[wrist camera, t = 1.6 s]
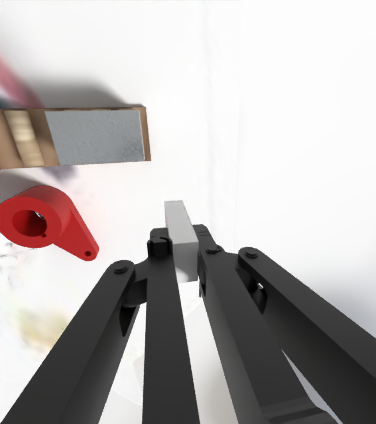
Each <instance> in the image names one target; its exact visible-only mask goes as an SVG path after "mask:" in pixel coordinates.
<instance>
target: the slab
mask: <svg viewBox="0 0 376 424" xmlns="http://www.w3.org/2000/svg"><path fill="white" fill-rule="evenodd" d="M45 115H46V118H47V122H48V125H49V129H50V132H51V135H52V139H53V142H54V146H55V149H56V153H57V156H58V160H59V163H60V166H63V165H81V164H99V163H117V162H135V161H145V154H144V145H143V137H142V128H141V119H140V112H139V110H106V111H45Z"/></svg>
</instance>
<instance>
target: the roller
mask: <svg viewBox="0 0 376 424" xmlns="http://www.w3.org/2000/svg"><path fill="white" fill-rule="evenodd" d="M4 113H5V116H6V118H7V121H8V124H9V127H10V129H11V132H12V135H13V138H14V140H15V143H16V146H17V149H18V151H19V154H20V157H21V159H22V162H23V165H24V167H34V166H41V165H45V164H44V160H43V157H42V154H41V151H40V148H39V145H38V142H37V139H36V136H35V132H34V129H33V126H32V123H31V120H30V117H29V114H28V112H27V111H4Z"/></svg>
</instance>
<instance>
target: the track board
mask: <svg viewBox="0 0 376 424" xmlns="http://www.w3.org/2000/svg"><path fill="white" fill-rule="evenodd" d="M95 109H107V110H119V109H136V110H139V112H140V119H141V128H142V137H143V145H144V154H145V161H151V155H150V145H149V135H148V125H147V116H146V107H119V108H32V109H0V169H12V168H30V167H24V165H23V162H22V159H21V157H20V154H19V151H18V149H17V146H16V143H15V140H14V138H13V135H12V132H11V129H10V127H9V124H8V121H7V118H6V116H5V113H4V111H27V112H28V114H29V117H30V120H31V123H32V126H33V129H34V132H35V136H36V139H37V142H38V145H39V148H40V151H41V154H42V157H43V160H44V164H45V165H41V166H34V167H48V166H60V163H59V160H58V156H57V153H56V149H55V146H54V142H53V139H52V135H51V132H50V129H49V125H48V122H47V118H46V115H45V111H64V110H85V111H91V110H95ZM135 162H138V161H135ZM117 163H120V162H117ZM99 164H102V163H99ZM81 165H84V164H81ZM63 166H66V165H63Z"/></svg>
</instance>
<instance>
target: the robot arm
mask: <svg viewBox="0 0 376 424" xmlns="http://www.w3.org/2000/svg"><path fill="white" fill-rule="evenodd" d="M164 202H165V221H166V228H155V229H153V230H152V231H151V232H150V240H148V242H147V249H148V258H147V259H146V260H145V261H143V262H141V263H138V264H135V265H134V263H133V262H131V261H128V260H120V261H117V262H114V263H113V264H111V265H110V266H109V267H108V268H107V269H106V271H105V272H104V274H103V275H102V277H101V278H100V280H99V281H98V283H97V284H96V285H95V287H94V288H93V290H92V291H91V293H90V294H89V296H88V297H87V299H86V300H85V301H84V303H83V304H82V306H81V307H80V309H79V310H78V312H77V313H76V315H75V316H74V317H73V319H72V320H71V322H70V323H69V325H68V326H67V328H66V329H65V331H64V332H63V333H62V335H61V336H60V338H59V339H58V341H57V342H56V344H55V345H54V346H53V348H52V349H51V351H50V352H49V354H48V355H47V357H46V358H45V360H44V361H43V362H42V364H41V365H40V367H39V368H38V370H37V371H36V373H35V374H34V376H33V377H32V378H31V380H30V381H29V383H28V384H27V386H26V387H25V389H24V390H23V392H22V393H21V394H20V396H19V397H18V399H17V400H16V402H15V403H14V405H13V406H12V407H11V409H10V410H9V412H8V413H7V415H6V416H5V418H4V419H3V421H2V422H1V423H0V424H98V423H99V420H100V417H101V415H102V412H103V409H104V406H105V403H106V401H107V398H108V395H109V392H110V389H111V387H112V384H113V381H114V378H115V375H116V372H117V370H118V367H119V364H120V361H121V358H122V356H123V353H124V350H125V347H126V344H127V342H128V339H129V336H130V333H131V330H132V328H133V325H134V322H135V319H136V316H137V314H138V311H139V308H140V304H143V303H145V302H147V305H146V332H145V360H144V387H143V413H142V424H200V420H199V415H198V408H197V401H196V395H195V390H194V383H193V376H192V370H191V364H190V357H189V351H188V345H187V339H186V333H185V326H184V320H183V314H182V307H181V301H180V295H179V289H178V283H183V282H191V281H198V276H199V279H200V283H199V297H201V294H202V298H203V301H204V305H205V308H206V311H207V315H208V318H209V322H210V326H211V328H212V333H213V336H214V339H215V343H216V347H217V350H218V354H219V357H220V360H221V364H222V367H223V371H224V374H225V378H226V381H227V385H228V388H229V392H230V395H231V399H232V402H233V406H234V409H235V412H236V416H237V420H238V423H239V424H338V423H337V422H336V420H335V419H334V418H332V416H331V415H330V414H329V413H328V412H326V411H324V410H322V409H320V408H318V407H316V406H315V405H314V403H313V402H312V401H311V400H310V398H309V397H308V395H307V393H306V392H305V390H304V388H303V386H302V384H301V383H300V381H299V379H298V377H297V376H296V374H295V372H294V370H293V369H292V367H291V366H290V364H289V362H288V360H287V358H286V357H285V355H284V353H283V352H282V350H283V351H284V352H285V354H286V355H287V356H288V357H289V359H290V360H291V361H292V362H293V363H294V365H295V366H296V367H297V368H298V370H299V371H300V372H301V373H302V374H303V376H304V377H305V378H306V379H307V380H308V382H309V383H310V384H311V385H312V386H313V388H314V389H315V390H316V391H317V393H318V394H319V395H320V396H321V397H322V399H323V400H324V401H325V402H326V403H327V405H328V406H329V407H330V408H331V409H332V411H333V412H334V413H335V414H336V415H337V417H338V418H339V419H340V420H341V422H343V424H376V338H374V337H373V336H372V335H371V334H369V333H368V332H366V331H365V330H364V329H363V328H361V327H360V326H359V325H357V324H356V323H355V322H353V321H352V320H351V319H349V318H348V317H347V316H345V315H344V314H343V313H342V312H340V311H339V310H338V309H336V308H335V307H334V306H332V305H331V304H330V303H328V302H327V301H326V300H324V299H323V298H322V297H320V296H319V295H317V294H316V293H315V292H314V291H312V290H311V289H310V288H309V287H307V286H306V285H304V284H303V283H302V282H301V281H299V280H298V279H297V278H295V277H294V276H293V275H291V274H290V273H289V272H287V271H286V270H285V269H284V268H282V267H281V266H279V265H278V264H277V263H276V262H274V261H273V260H272V259H270V258H269V257H268V256H266V255H265V254H264V253H262V252H261V251H259V250H258V249H255V248H252V247H244V248H241V249H240V250H239V252H238V254H234V253H227V252H225V251H224V249H223V248H222V247H221V246H219V245H217V244H216V243H215V242H214V240H213V238H212V236H211V234H210V232H209V230H208V229H207V227H206V226H204V225H203V224H200V225H192V224H191V221H190V219H189V216H188V214H187V211H186V209H185V206H184V204H183V201H182V200H180V201H164ZM259 283H260V284H261V285H262V286H263V288H262V287H261V286H260V285H259ZM281 349H282V350H281Z"/></svg>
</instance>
